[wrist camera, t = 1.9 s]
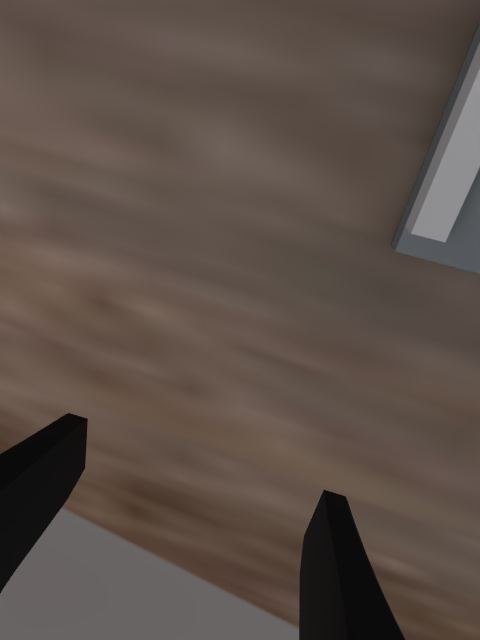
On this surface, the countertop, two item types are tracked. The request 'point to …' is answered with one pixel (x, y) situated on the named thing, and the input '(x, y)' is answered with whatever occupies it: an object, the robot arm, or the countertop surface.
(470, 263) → the rail mat
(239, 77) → the countertop surface
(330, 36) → the countertop surface
